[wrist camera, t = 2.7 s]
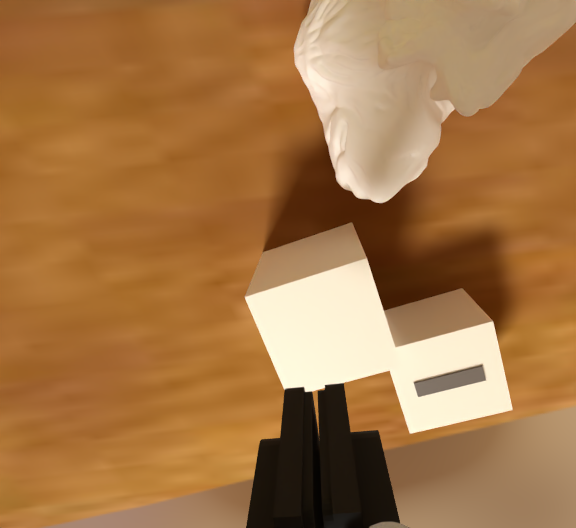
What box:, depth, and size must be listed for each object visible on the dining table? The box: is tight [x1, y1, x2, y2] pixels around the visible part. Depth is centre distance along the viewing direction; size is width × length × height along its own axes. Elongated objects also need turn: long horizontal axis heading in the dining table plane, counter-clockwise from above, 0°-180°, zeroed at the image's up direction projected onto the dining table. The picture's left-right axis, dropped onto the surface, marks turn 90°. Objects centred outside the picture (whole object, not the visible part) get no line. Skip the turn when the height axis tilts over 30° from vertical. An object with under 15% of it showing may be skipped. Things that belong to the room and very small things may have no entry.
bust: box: [294, 0, 576, 203], centre depth 14 cm, size 12×8×11 cm
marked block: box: [384, 288, 513, 434], centre depth 21 cm, size 5×5×4 cm
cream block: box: [245, 222, 401, 392], centre depth 19 cm, size 5×5×6 cm
